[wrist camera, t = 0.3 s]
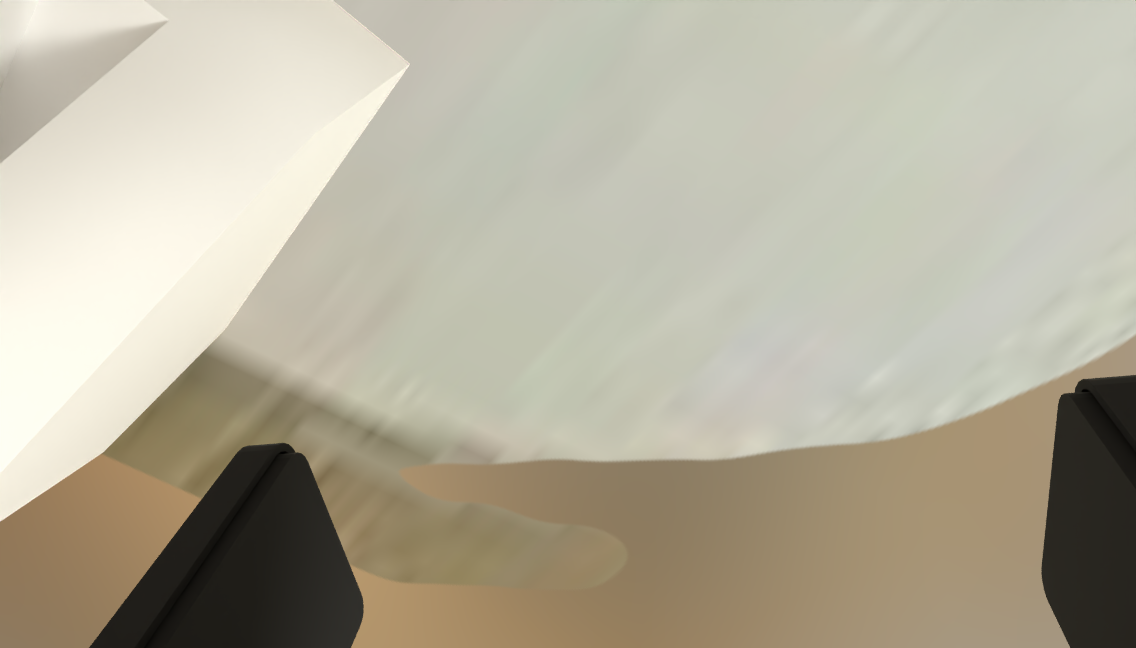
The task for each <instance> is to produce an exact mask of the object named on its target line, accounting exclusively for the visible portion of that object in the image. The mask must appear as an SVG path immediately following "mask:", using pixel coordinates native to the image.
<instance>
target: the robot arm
mask: <svg viewBox="0 0 1136 648" xmlns="http://www.w3.org/2000/svg"><path fill="white" fill-rule="evenodd" d="M1042 581H1043V586H1044V591H1045V594H1046V597H1047V600H1048V602H1049V604H1050V606H1051V608H1052V610H1053V613H1054V615H1055V617H1056V619H1057V621H1058V623H1059V625H1060V627H1061V629H1062V631H1063V633H1064V635H1065V637H1066V640H1067V642H1068V644H1069V646H1070V648H1136V375H1131V376H1119V377H1107V378H1095V379H1094V378H1093V379H1083V380H1081V381H1079V382H1078V384H1077V386H1076V388H1075V393H1067V394H1063V395H1061V397H1060V399H1059V404H1058V412H1057V421H1056V432H1055V441H1054V451H1053V460H1052V470H1051V480H1050V490H1049V501H1048V510H1047V520H1046V530H1045V539H1044V550H1043V559H1042ZM362 618H363V598H362V595H361V592H360V589H359V587H358V585H357V582H356V580H355V577H354V575H353V572H352V570H351V567H350V565H349V562H348V560H347V557H346V555H345V552H344V550H343V547H342V545H341V542H340V540H339V537H338V535H337V533H336V530H335V528H334V525H333V523H332V520H331V518H330V515H329V513H328V510H327V508H326V505H325V503H324V500H323V498H322V495H321V493H320V490H319V488H318V485H317V483H316V481H315V478H314V476H313V473H312V471H311V468H310V466H309V463H308V461H307V459H306V457H305V456H304V455H303V454H301V453H295V451H294V449H293V448H292V447H291V446H290V445H289V444H285V443H278V444H265V445H253V446H246V447H243V448H242V449H241V450H239V451H238V452H237V454H236V455H235V456H234V458H233V459H232V460H231V462H230V463H229V464H228V465H227V467H226V468H225V469H224V471H223V472H222V473H221V475H220V476H219V477H218V479H217V480H216V481H215V483H214V484H213V485H212V487H211V488H210V489H209V491H208V492H207V493H206V494H205V496H204V497H203V498H202V500H201V501H200V502H199V504H198V505H197V506H196V508H195V509H194V510H193V512H192V513H191V514H190V516H189V517H188V518H187V520H186V521H185V522H184V523H183V525H182V526H181V527H180V529H179V530H178V531H177V533H176V534H175V535H174V537H173V538H172V539H171V541H170V542H169V543H168V545H167V546H166V547H165V549H164V550H163V551H162V553H161V554H160V555H159V557H158V558H157V559H156V560H155V562H154V563H153V564H152V566H151V567H150V568H149V570H148V571H147V572H146V574H145V575H144V576H143V578H142V579H141V580H140V582H139V583H138V584H137V585H136V587H135V588H134V589H133V591H132V592H131V593H130V595H129V596H128V598H127V599H126V600H125V601H124V603H123V604H122V605H121V607H120V608H119V609H118V611H117V612H116V613H115V615H114V616H113V617H112V618H111V620H110V621H109V622H108V624H107V625H106V626H105V628H104V629H103V630H102V632H101V633H100V634H99V636H98V637H97V639H96V640H95V641H94V642H93V643H92V645H91V646H90V647H89V648H351V646H352V644H353V641H354V639H355V637H356V634H357V632H358V630H359V627H360V625H361V622H362Z"/></svg>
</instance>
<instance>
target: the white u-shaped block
mask: <svg viewBox="0 0 1136 648" xmlns="http://www.w3.org/2000/svg"><path fill="white" fill-rule="evenodd" d="M409 65H410V63H409V62H407V61H406V60H405V59H404V58H402V57H401V56H400V55H399V54H398V53H396V52H395V51H394V50H393V49H392V48H390V47H389V46H388V45H387V44H385V43H384V42H383V41H382V40H381V39H379V38H378V37H377V36H376V35H374V34H373V33H372V32H371V31H370V30H368V29H367V28H366V27H365V26H364V25H362V24H361V23H360V22H359V21H357V20H356V19H355V18H354V17H353V16H351V15H350V14H349V13H348V12H347V11H345V10H344V9H343V8H342V7H340V6H339V5H338V4H337V3H336V2H334V1H333V0H0V521H1V520H3V519H4V518H6V517H7V516H9V515H11V514H12V513H13V512H15V511H16V510H18V509H19V508H21V507H22V506H24V505H25V504H27V503H28V502H30V501H31V500H33V499H34V498H36V497H37V496H39V495H40V494H42V493H43V492H45V491H46V490H48V489H49V488H51V487H52V486H54V485H55V484H57V483H58V482H60V481H61V480H63V479H64V478H66V477H67V476H68V475H70V474H71V473H73V472H75V471H76V470H77V469H79V468H81V467H82V466H84V465H85V464H87V463H88V462H89V461H91V460H92V459H94V458H95V457H97V456H98V455H100V454H101V453H103V452H104V451H105V450H106V449H107V448H108V447H109V446H110V445H111V444H112V443H113V442H114V441H115V440H116V439H117V438H118V437H119V436H120V435H121V434H122V433H123V432H124V431H125V430H126V429H127V428H128V427H129V426H130V425H131V424H132V423H133V422H134V421H135V420H136V419H137V418H138V417H139V416H140V415H141V414H142V413H143V412H144V411H145V410H146V409H147V408H148V407H149V406H150V405H151V404H152V403H153V402H154V401H155V400H156V398H157V397H158V396H159V395H160V394H161V393H162V392H163V391H164V390H165V389H166V388H167V387H168V386H169V385H170V384H171V383H172V382H173V381H174V380H175V379H176V378H177V377H178V376H179V375H180V374H181V373H182V372H183V371H184V370H185V369H186V368H187V367H188V366H189V365H190V364H191V363H192V362H193V361H194V360H195V359H196V358H197V357H198V356H199V355H200V354H201V353H202V352H203V351H204V350H205V349H206V348H207V347H208V346H209V345H210V344H211V343H212V342H213V341H214V340H215V339H216V338H217V337H218V336H219V335H220V334H221V333H222V332H223V331H224V330H225V329H226V327H227V326H228V325H229V323H230V322H231V320H232V319H233V317H234V316H235V314H236V313H237V312H238V310H239V309H240V307H241V306H242V304H243V303H244V302H245V300H246V299H247V297H248V296H249V294H250V293H251V292H252V290H253V289H254V287H255V286H256V284H257V283H258V281H259V280H260V279H261V277H262V276H263V274H264V273H265V271H266V270H267V269H268V267H269V266H270V264H271V263H272V261H273V260H274V259H275V257H276V256H277V254H278V253H279V251H280V250H281V248H282V247H283V246H284V244H285V243H286V241H287V240H288V238H289V237H290V236H291V234H292V233H293V231H294V230H295V228H296V227H297V226H298V224H299V223H300V221H301V220H302V218H303V217H304V215H305V214H306V213H307V211H308V210H309V208H310V207H311V205H312V204H313V203H314V201H315V200H316V198H317V197H318V195H319V194H320V193H321V191H322V190H323V188H324V187H325V185H326V184H327V182H328V181H329V180H330V178H331V177H332V175H333V174H334V172H335V171H336V170H337V168H338V167H339V165H340V164H341V162H342V161H343V160H344V158H345V157H346V155H347V154H348V152H349V151H350V149H351V148H352V147H353V145H354V144H355V142H356V141H357V139H358V138H359V137H360V135H361V134H362V132H363V131H364V129H365V128H366V127H367V125H368V124H369V122H370V121H371V119H372V118H373V117H374V115H375V114H376V112H377V111H378V109H379V108H380V106H381V105H382V104H383V102H384V101H385V99H386V98H387V96H388V95H389V94H390V92H391V91H392V89H393V88H394V86H395V85H396V84H397V82H398V81H399V79H400V78H401V76H402V75H403V73H404V72H405V71H406V69H407V68H408V66H409Z"/></svg>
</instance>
